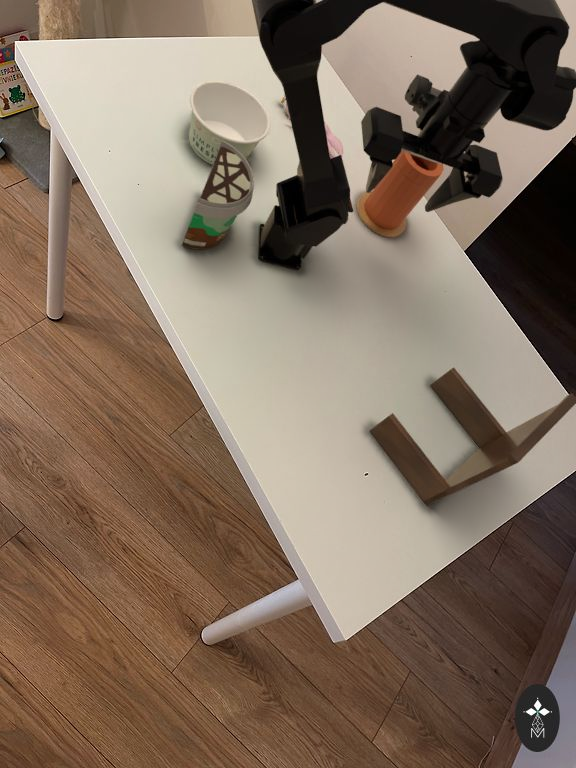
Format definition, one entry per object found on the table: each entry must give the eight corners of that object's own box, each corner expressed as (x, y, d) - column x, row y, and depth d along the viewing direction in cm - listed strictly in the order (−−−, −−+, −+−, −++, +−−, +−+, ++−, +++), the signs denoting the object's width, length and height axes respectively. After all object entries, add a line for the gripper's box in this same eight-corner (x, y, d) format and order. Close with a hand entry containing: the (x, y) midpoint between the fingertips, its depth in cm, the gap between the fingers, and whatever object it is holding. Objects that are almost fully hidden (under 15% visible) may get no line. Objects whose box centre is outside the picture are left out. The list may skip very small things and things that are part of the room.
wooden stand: (369, 430, 78) (445, 372, 64) (432, 382, 86) (513, 322, 72) (426, 505, 76) (518, 463, 62) (486, 449, 84) (578, 400, 71)
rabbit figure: (269, 112, 101) (320, 168, 96) (279, 79, 96) (333, 135, 91) (298, 110, 104) (348, 163, 99) (309, 77, 100) (362, 131, 94)
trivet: (358, 228, 94) (360, 226, 94) (355, 187, 99) (356, 185, 98) (406, 243, 98) (408, 241, 97) (401, 202, 102) (403, 200, 101)
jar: (401, 234, 97) (444, 182, 87) (364, 221, 95) (404, 166, 85) (399, 204, 100) (442, 151, 91) (364, 191, 98) (403, 134, 88)
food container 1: (165, 143, 86) (175, 107, 81) (201, 104, 93) (213, 67, 88) (236, 188, 88) (251, 155, 83) (267, 146, 95) (282, 113, 89)
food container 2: (221, 271, 80) (245, 222, 72) (178, 253, 79) (197, 201, 70) (242, 209, 87) (266, 158, 78) (202, 191, 85) (223, 137, 77)
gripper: (521, 88, 75) (447, 177, 87) (392, 31, 68) (332, 137, 81) (539, 150, 69) (457, 235, 82) (401, 95, 63) (335, 197, 76)
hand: (397, 199), depth 80 cm, fingers open, 9 cm apart
